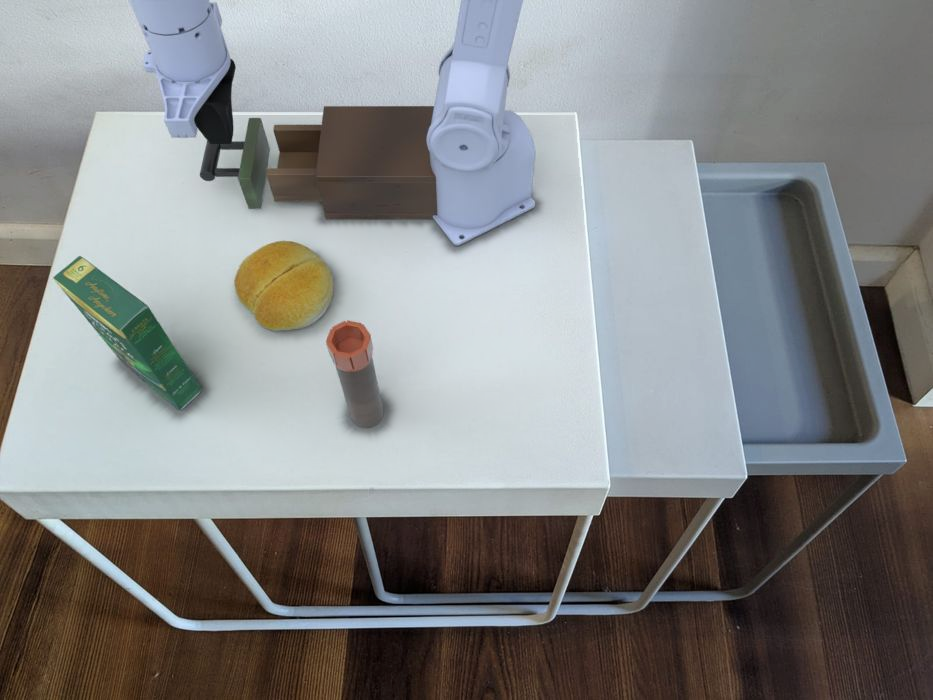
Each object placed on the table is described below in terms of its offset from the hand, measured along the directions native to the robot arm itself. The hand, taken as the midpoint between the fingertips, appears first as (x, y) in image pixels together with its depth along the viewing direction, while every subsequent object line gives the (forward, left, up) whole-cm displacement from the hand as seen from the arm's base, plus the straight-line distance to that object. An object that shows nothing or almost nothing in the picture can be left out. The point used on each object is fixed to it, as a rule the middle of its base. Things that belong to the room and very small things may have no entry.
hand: (221, 138), depth 72 cm
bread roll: (+2, +14, -7) cm, 16 cm away
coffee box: (+15, +16, -7) cm, 23 cm away
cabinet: (-13, +8, -6) cm, 16 cm away
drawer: (-4, +3, -5) cm, 7 cm away
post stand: (+1, +29, -6) cm, 30 cm away
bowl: (+1, +29, +4) cm, 30 cm away
